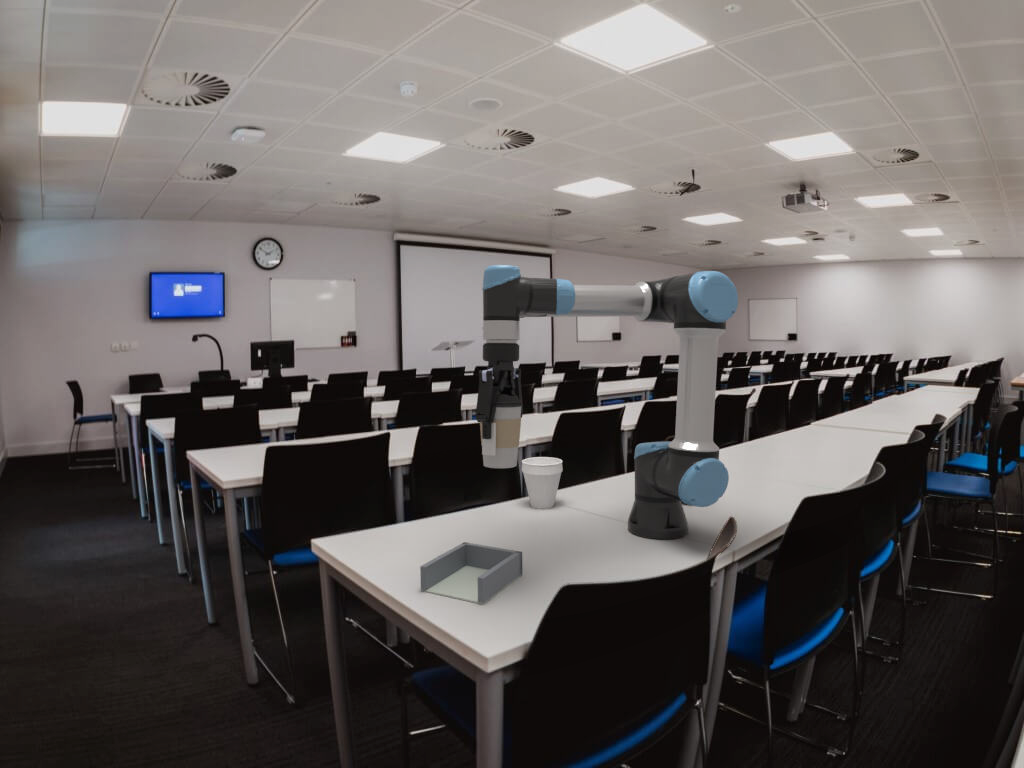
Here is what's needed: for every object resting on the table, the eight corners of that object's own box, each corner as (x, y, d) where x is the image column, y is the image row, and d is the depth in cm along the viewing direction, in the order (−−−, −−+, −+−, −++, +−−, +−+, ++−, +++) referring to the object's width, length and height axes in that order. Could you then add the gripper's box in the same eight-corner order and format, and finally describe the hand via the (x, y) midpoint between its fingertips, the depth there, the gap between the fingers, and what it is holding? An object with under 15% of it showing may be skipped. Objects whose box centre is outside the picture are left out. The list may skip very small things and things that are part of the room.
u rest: (522, 575, 128) (522, 551, 128) (483, 604, 114) (483, 578, 114) (464, 564, 135) (464, 542, 135) (420, 590, 121) (420, 566, 120)
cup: (546, 498, 191) (546, 455, 190) (571, 506, 181) (571, 461, 180) (514, 504, 184) (513, 459, 183) (537, 513, 174) (537, 466, 173)
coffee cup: (477, 461, 130) (478, 391, 130) (519, 460, 131) (520, 391, 130) (478, 469, 121) (479, 394, 121) (523, 469, 122) (524, 394, 121)
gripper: (509, 342, 136) (508, 443, 137) (457, 341, 117) (456, 457, 118) (540, 342, 132) (538, 445, 134) (490, 341, 114) (489, 461, 115)
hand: (500, 451), depth 126 cm, fingers closed on coffee cup, 8 cm apart
